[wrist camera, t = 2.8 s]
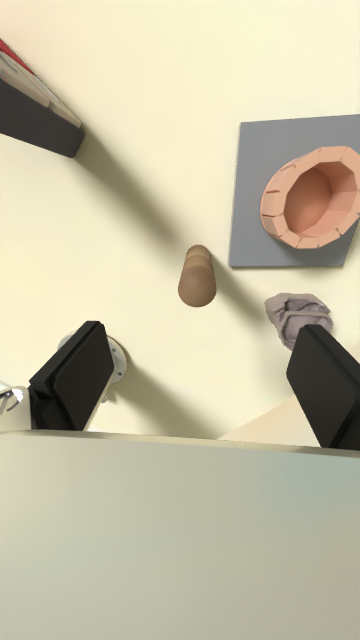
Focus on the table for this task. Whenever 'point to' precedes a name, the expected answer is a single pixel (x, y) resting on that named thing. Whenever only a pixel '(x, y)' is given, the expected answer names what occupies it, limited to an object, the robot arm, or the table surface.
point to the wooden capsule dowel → (197, 278)
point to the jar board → (295, 191)
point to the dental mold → (296, 315)
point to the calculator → (34, 109)
